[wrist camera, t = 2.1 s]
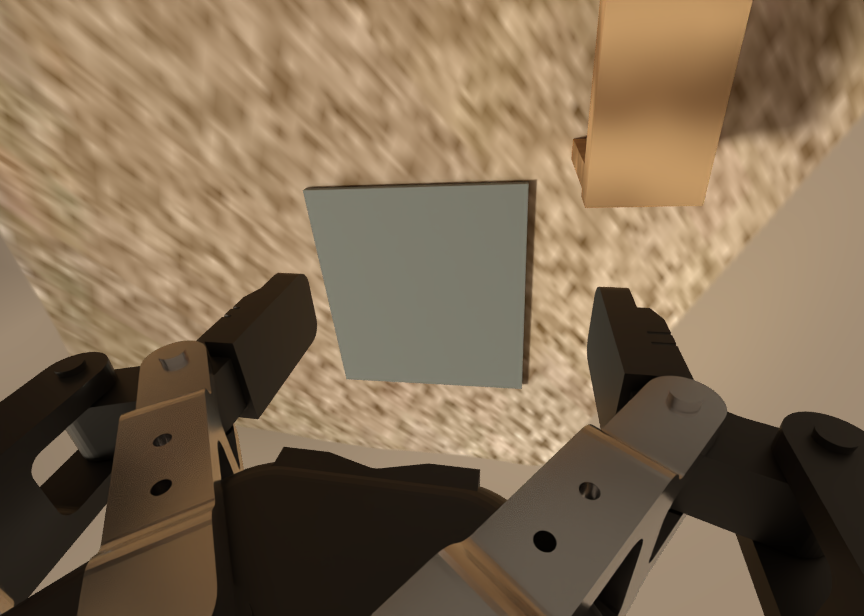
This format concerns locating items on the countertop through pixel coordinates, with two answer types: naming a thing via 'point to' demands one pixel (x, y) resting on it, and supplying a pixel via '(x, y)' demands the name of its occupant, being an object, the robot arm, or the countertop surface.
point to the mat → (425, 280)
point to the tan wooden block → (658, 100)
